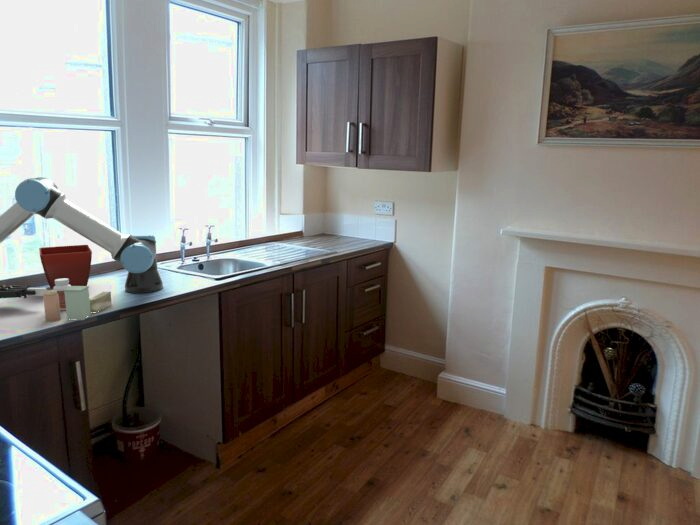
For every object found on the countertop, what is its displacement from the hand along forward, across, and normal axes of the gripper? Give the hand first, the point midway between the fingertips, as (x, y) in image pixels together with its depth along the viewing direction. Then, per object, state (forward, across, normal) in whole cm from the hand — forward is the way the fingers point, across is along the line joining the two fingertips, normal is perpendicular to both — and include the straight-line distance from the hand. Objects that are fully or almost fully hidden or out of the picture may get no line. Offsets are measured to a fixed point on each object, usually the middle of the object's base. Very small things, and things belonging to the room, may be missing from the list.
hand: (45, 291), depth 205 cm
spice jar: (+10, +14, -6) cm, 18 cm away
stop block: (+20, 0, -6) cm, 21 cm away
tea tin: (+18, +11, -6) cm, 22 cm away
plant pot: (-8, -32, -7) cm, 33 cm away
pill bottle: (+6, 0, -7) cm, 9 cm away
